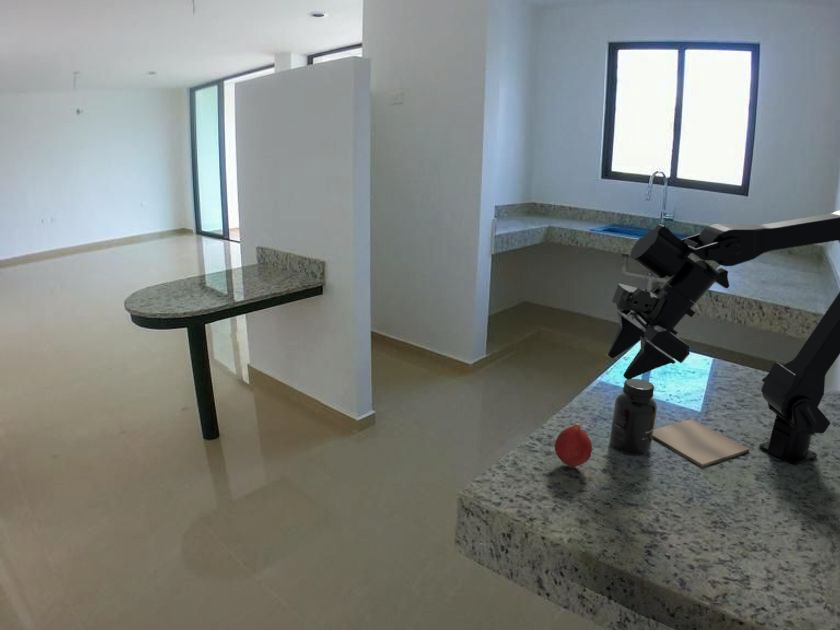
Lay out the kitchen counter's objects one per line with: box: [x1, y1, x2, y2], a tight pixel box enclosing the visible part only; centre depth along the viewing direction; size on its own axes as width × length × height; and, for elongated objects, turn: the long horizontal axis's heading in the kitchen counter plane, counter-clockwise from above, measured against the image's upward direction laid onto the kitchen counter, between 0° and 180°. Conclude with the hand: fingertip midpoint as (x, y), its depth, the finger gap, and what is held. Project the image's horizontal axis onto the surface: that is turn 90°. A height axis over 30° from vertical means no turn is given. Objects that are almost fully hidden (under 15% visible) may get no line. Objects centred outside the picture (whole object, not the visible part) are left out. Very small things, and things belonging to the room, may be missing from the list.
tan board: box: [652, 418, 750, 468], centre depth 102 cm, size 12×12×1 cm
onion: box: [554, 422, 593, 469], centre depth 93 cm, size 6×6×8 cm
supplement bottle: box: [609, 378, 658, 456], centre depth 99 cm, size 7×7×12 cm
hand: (617, 366), depth 97 cm, fingers open, 9 cm apart
